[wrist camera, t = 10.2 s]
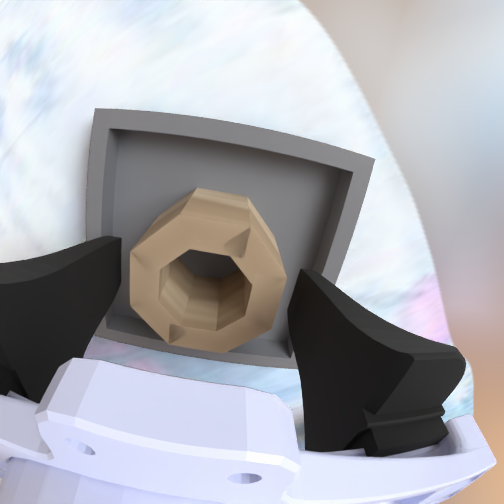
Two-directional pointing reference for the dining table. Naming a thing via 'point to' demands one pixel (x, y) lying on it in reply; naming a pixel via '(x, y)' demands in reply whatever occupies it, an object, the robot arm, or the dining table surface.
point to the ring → (204, 288)
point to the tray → (229, 181)
